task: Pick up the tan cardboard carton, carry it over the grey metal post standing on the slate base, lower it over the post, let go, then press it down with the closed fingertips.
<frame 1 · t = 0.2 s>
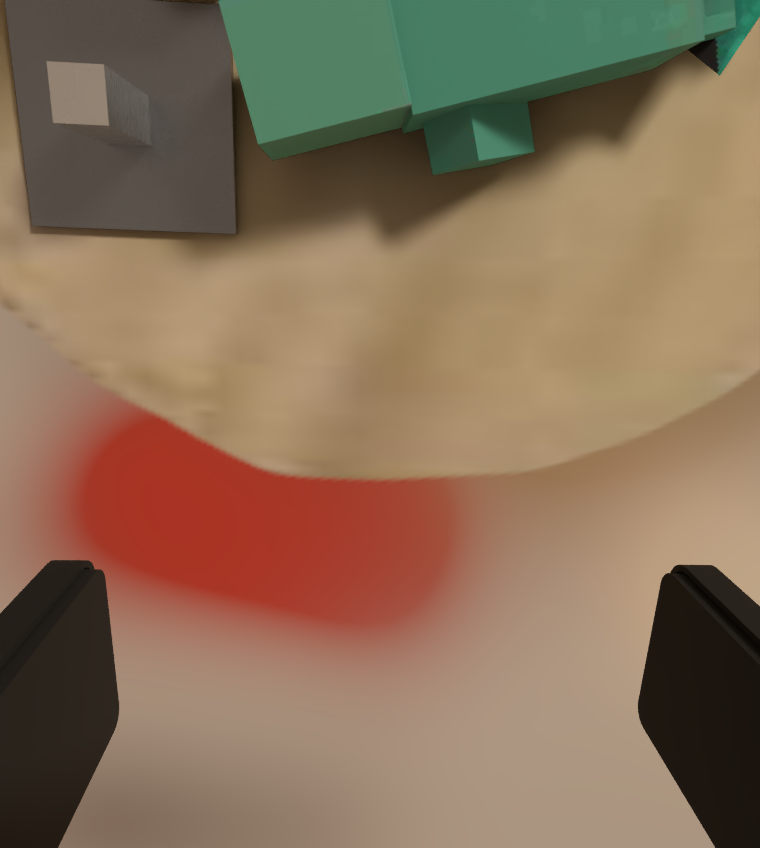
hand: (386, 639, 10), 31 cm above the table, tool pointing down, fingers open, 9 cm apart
toy: (511, 47, 35), on the table
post: (130, 121, 35), on the table
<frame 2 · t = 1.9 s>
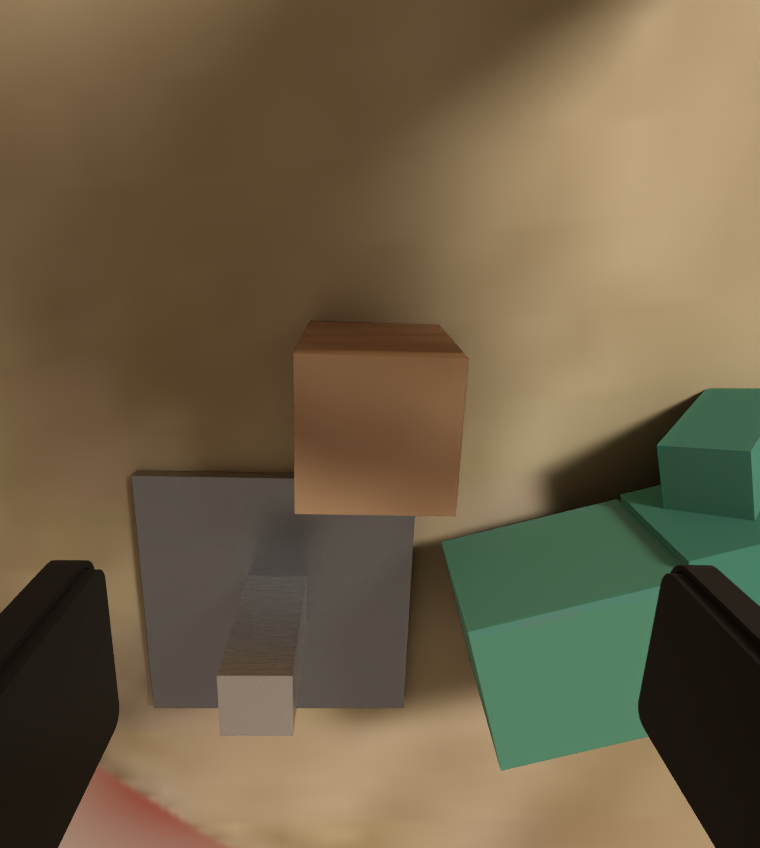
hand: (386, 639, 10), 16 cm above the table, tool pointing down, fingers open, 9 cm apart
tan cardboard carton: (372, 385, 25), on the table
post: (279, 593, 28), on the table
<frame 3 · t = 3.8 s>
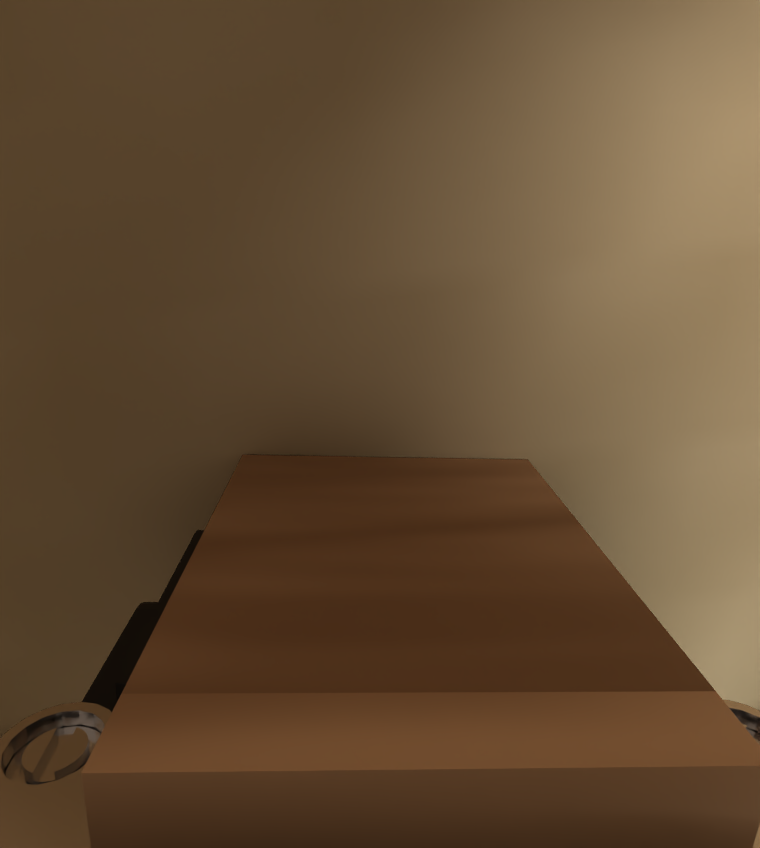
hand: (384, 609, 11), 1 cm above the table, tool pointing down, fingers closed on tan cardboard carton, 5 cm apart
tan cardboard carton: (382, 583, 12), on the table, touching gripper
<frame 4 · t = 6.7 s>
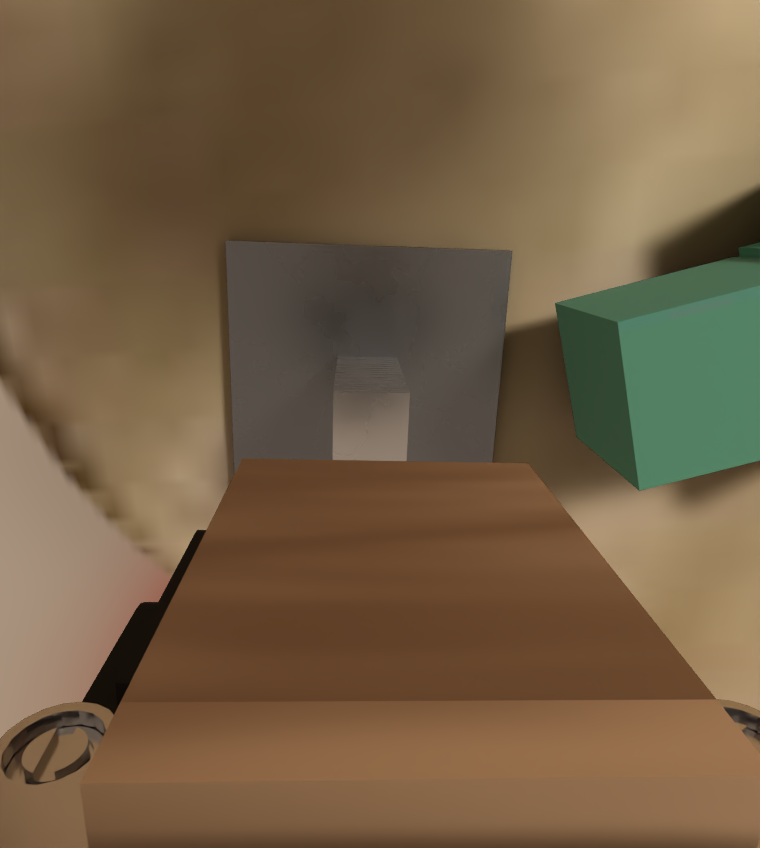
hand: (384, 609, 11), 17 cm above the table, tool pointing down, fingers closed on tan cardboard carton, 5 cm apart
tan cardboard carton: (381, 586, 12), point 17 cm above the table, touching gripper
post: (366, 382, 28), on the table
when the fingers open (3 cm above the table, at t = 9.5 s): tan cardboard carton drops 1 cm, resting on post.
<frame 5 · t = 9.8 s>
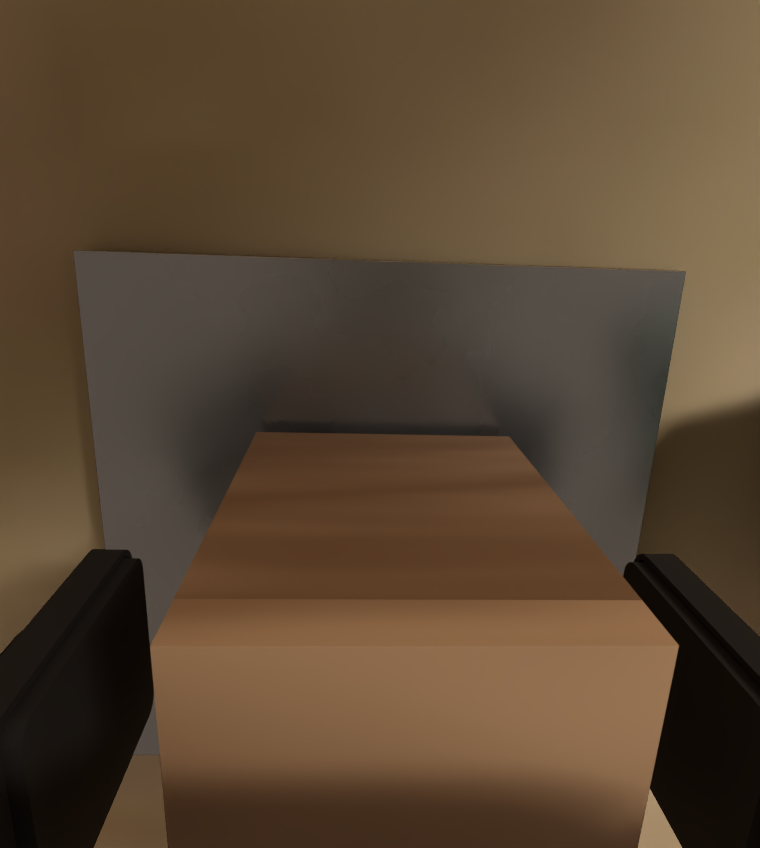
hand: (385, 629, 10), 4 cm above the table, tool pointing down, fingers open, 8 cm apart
tan cardboard carton: (380, 547, 13), point 1 cm above the table, touching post
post: (376, 526, 14), on the table
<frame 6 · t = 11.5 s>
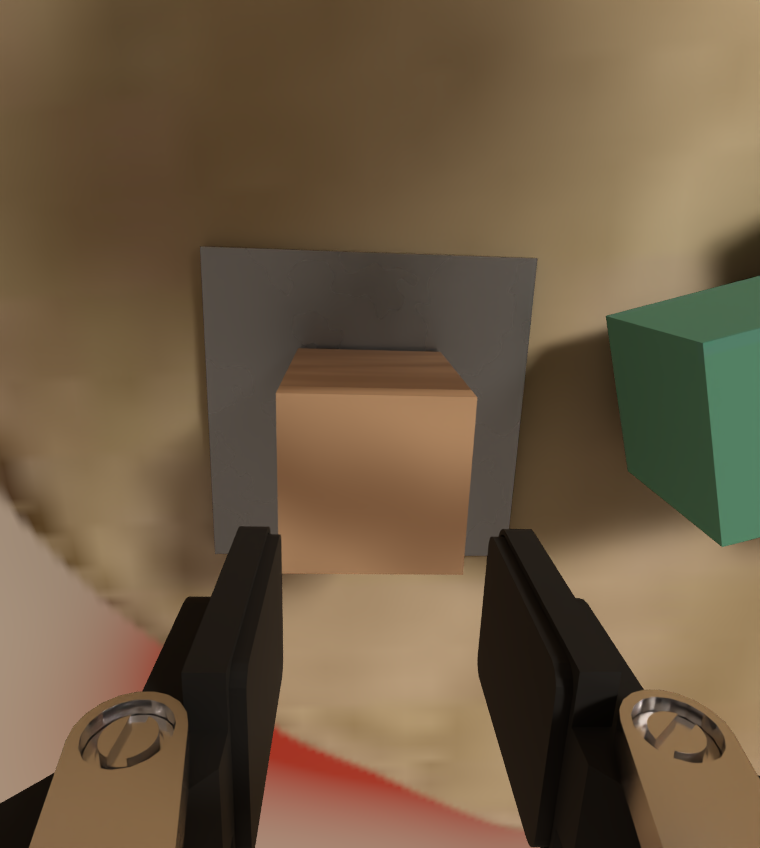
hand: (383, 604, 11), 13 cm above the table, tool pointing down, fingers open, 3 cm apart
tan cardboard carton: (367, 418, 23), point 1 cm above the table, touching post
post: (366, 410, 24), on the table
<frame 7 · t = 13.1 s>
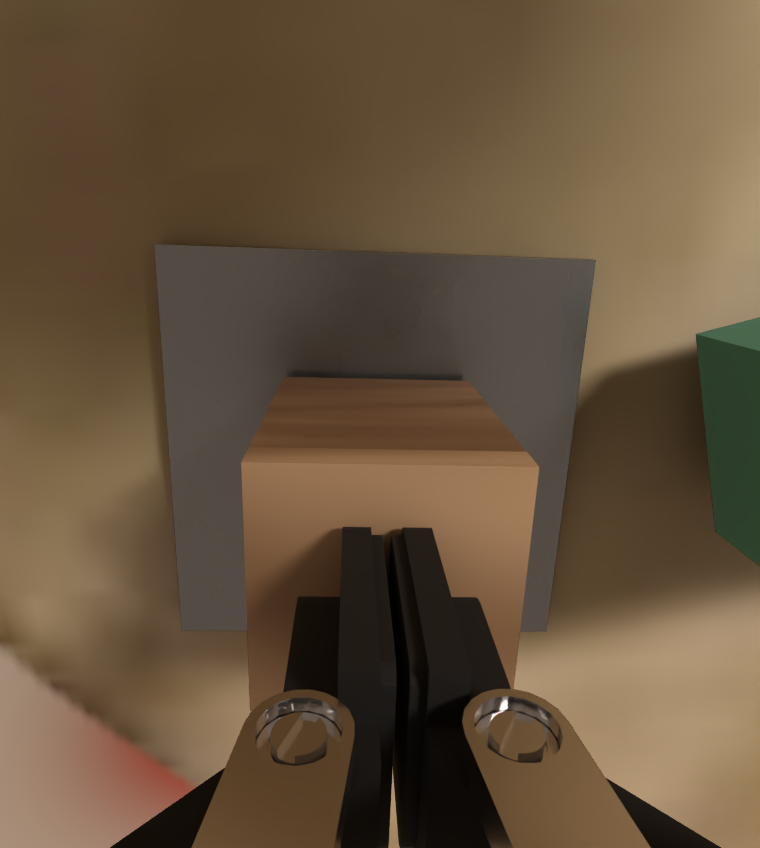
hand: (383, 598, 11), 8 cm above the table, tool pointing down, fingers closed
tan cardboard carton: (373, 465, 18), point 1 cm above the table, touching gripper, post
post: (371, 453, 19), on the table
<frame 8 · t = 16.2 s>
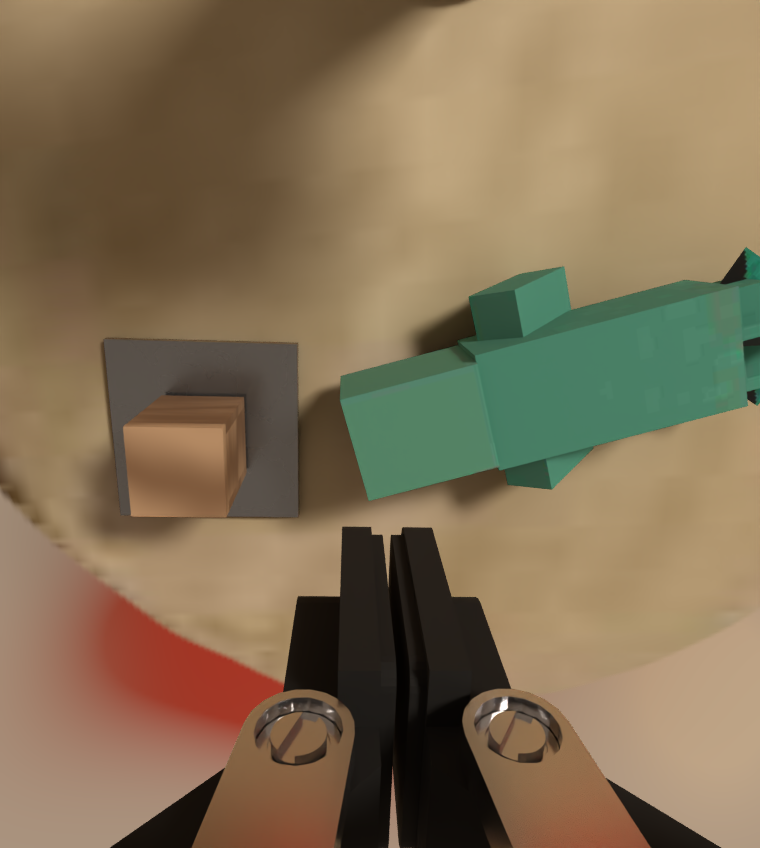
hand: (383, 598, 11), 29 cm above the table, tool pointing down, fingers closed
tan cardboard carton: (204, 434, 39), point 1 cm above the table, touching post
toy: (570, 353, 40), on the table
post: (207, 430, 40), on the table
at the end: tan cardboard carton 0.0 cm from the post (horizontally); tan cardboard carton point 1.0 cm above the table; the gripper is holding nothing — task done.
